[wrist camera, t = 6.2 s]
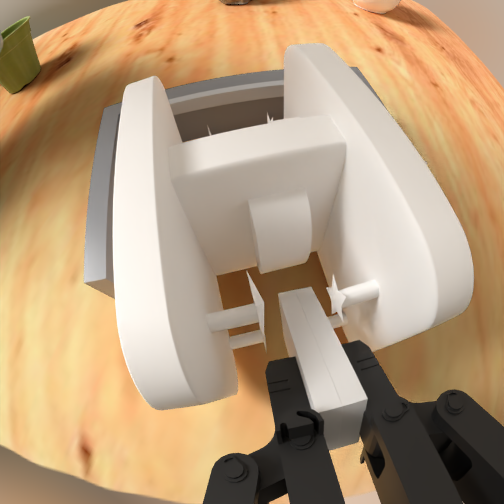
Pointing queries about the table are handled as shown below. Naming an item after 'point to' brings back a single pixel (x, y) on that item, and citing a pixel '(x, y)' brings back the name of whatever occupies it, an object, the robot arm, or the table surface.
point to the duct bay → (190, 127)
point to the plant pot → (18, 57)
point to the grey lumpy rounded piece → (235, 1)
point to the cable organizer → (274, 227)
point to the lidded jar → (377, 5)
